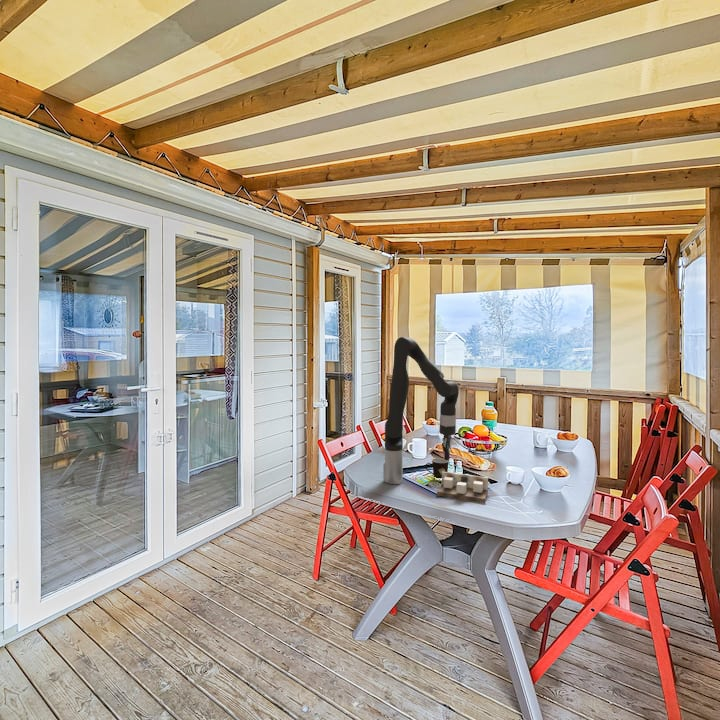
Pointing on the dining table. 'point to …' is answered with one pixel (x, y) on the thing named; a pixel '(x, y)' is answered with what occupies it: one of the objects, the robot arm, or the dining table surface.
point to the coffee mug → (438, 467)
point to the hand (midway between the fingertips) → (446, 459)
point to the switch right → (478, 486)
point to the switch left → (448, 482)
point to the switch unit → (469, 492)
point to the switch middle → (461, 487)
